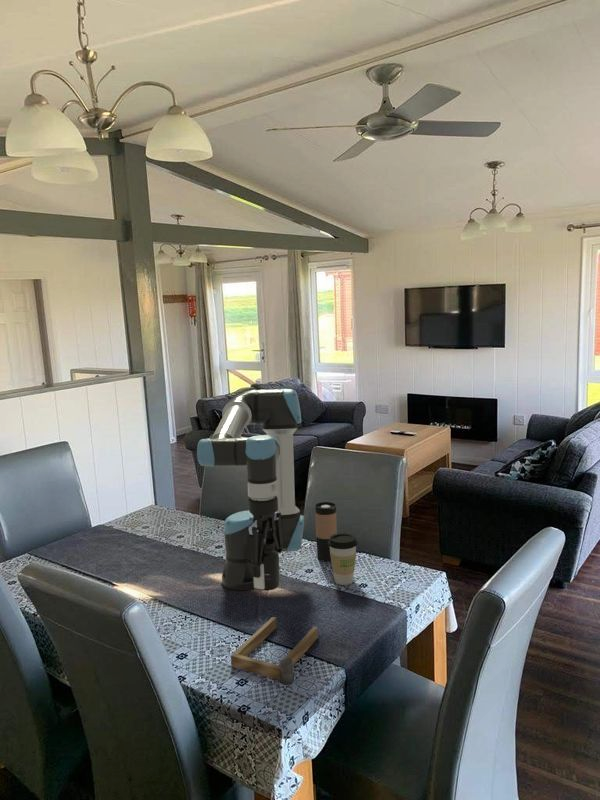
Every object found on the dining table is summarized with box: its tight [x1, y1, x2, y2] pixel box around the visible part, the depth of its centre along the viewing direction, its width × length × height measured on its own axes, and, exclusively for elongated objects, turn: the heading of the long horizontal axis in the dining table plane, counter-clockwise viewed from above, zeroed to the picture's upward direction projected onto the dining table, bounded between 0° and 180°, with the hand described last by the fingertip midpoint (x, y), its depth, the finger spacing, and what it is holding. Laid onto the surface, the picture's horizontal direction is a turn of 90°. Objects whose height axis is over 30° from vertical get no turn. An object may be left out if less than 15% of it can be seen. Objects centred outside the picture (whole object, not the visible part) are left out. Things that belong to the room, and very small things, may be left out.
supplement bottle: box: [253, 539, 281, 592], centre depth 152 cm, size 7×7×12 cm
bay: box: [230, 616, 319, 685], centre depth 154 cm, size 17×22×5 cm
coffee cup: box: [328, 532, 359, 586], centre depth 194 cm, size 10×10×15 cm
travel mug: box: [314, 501, 338, 563], centre depth 213 cm, size 8×8×20 cm
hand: (266, 582), depth 152 cm, fingers closed on supplement bottle, 7 cm apart
